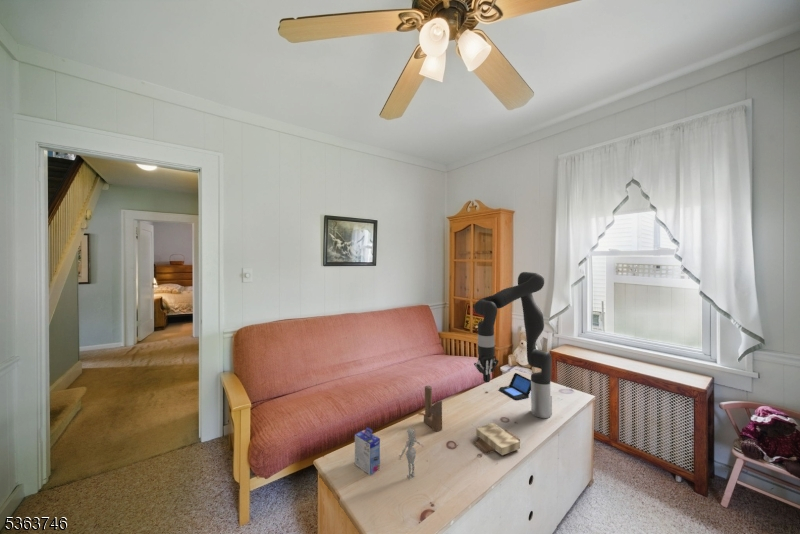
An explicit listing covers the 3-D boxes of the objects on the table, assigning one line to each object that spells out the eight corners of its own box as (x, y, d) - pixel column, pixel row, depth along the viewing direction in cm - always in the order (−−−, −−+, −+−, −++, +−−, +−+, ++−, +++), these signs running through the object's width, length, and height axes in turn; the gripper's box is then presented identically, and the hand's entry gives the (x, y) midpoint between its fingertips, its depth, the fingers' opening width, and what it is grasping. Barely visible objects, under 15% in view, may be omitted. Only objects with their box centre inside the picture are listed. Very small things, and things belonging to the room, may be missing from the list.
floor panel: (506, 431, 137) (506, 429, 137) (519, 441, 129) (519, 439, 129) (473, 443, 129) (473, 440, 129) (486, 453, 121) (486, 451, 121)
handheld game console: (498, 390, 181) (498, 375, 181) (515, 386, 186) (515, 372, 186) (516, 401, 167) (516, 385, 166) (534, 397, 171) (534, 381, 171)
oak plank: (493, 422, 137) (519, 441, 123) (493, 429, 137) (519, 449, 123) (476, 428, 133) (501, 448, 119) (476, 435, 133) (502, 456, 119)
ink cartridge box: (381, 468, 114) (380, 432, 114) (370, 476, 110) (369, 438, 110) (365, 457, 121) (364, 422, 120) (354, 464, 117) (353, 428, 116)
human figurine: (420, 467, 114) (419, 422, 114) (426, 472, 111) (426, 426, 111) (395, 482, 107) (395, 433, 106) (402, 488, 104) (401, 438, 103)
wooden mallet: (436, 432, 137) (435, 394, 137) (423, 421, 147) (422, 386, 146) (442, 429, 139) (442, 392, 139) (429, 419, 149) (428, 384, 148)
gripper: (480, 348, 127) (480, 387, 127) (503, 344, 132) (503, 381, 133) (469, 344, 133) (469, 381, 134) (491, 340, 139) (492, 376, 139)
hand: (486, 381), depth 133 cm, fingers closed
